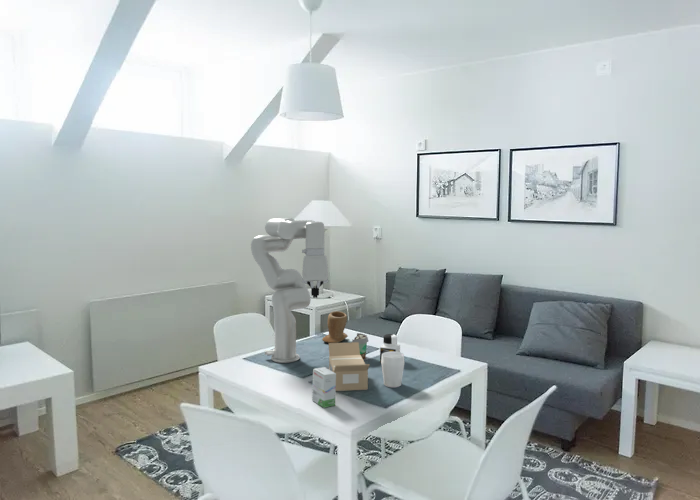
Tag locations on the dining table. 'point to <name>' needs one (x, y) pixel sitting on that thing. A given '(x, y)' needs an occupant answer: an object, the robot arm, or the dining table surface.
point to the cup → (392, 368)
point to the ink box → (324, 387)
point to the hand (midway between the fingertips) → (315, 297)
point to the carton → (349, 373)
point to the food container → (361, 344)
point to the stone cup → (336, 327)
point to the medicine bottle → (389, 344)
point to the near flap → (351, 367)
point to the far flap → (344, 349)
